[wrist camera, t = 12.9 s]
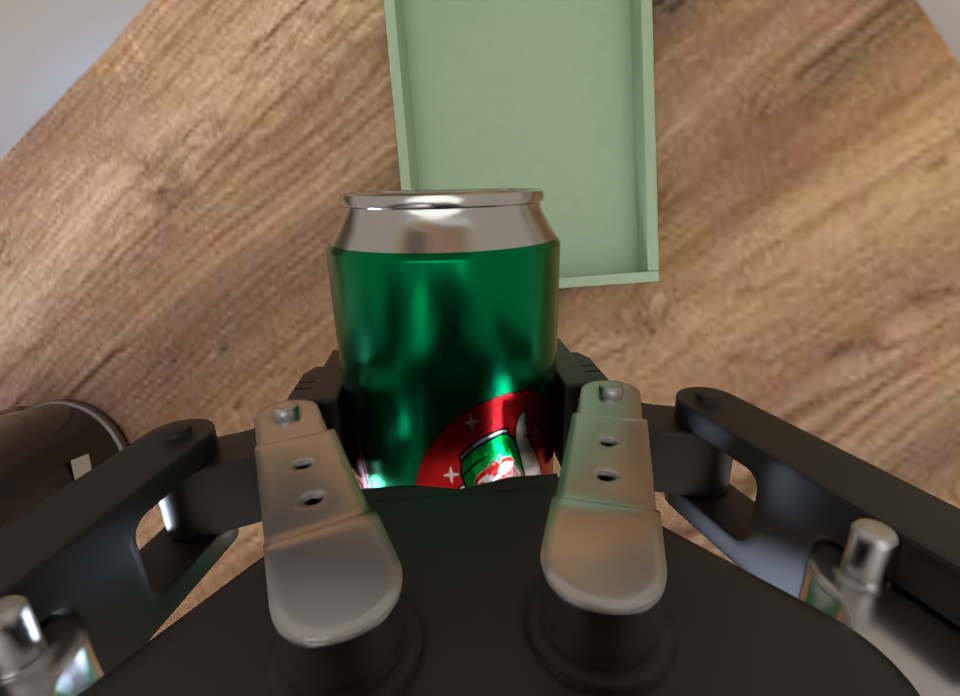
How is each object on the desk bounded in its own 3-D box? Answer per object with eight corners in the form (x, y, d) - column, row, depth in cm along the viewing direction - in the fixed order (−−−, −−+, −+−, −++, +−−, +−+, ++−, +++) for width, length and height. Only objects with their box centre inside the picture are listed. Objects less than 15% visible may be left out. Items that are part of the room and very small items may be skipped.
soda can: (400, 549, 17) (367, 190, 13) (546, 559, 16) (557, 186, 12) (347, 694, 12) (269, 196, 8) (549, 714, 12) (569, 191, 8)
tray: (646, 280, 30) (659, 280, 27) (421, 297, 31) (410, 299, 28) (636, -59, 28) (649, -100, 25) (392, -25, 29) (377, -60, 26)
